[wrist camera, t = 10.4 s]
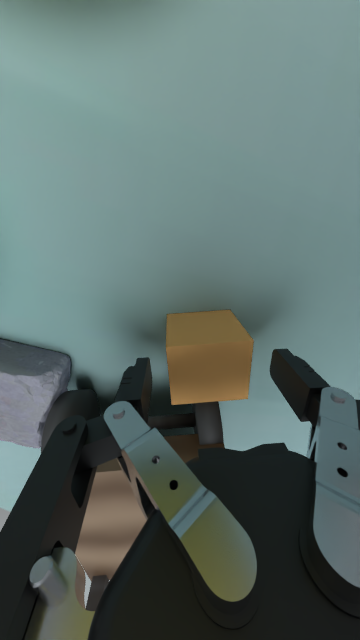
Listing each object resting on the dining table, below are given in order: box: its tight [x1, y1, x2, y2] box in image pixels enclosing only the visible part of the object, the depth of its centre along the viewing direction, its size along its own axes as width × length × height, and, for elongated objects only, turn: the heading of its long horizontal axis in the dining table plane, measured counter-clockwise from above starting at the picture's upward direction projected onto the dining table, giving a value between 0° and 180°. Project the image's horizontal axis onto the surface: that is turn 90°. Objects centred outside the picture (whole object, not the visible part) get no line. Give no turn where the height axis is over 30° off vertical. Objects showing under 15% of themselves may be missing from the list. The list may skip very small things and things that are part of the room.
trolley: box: [41, 389, 225, 611], centre depth 14 cm, size 20×12×18 cm, turn 3°
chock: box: [166, 310, 254, 405], centre depth 15 cm, size 5×4×5 cm
